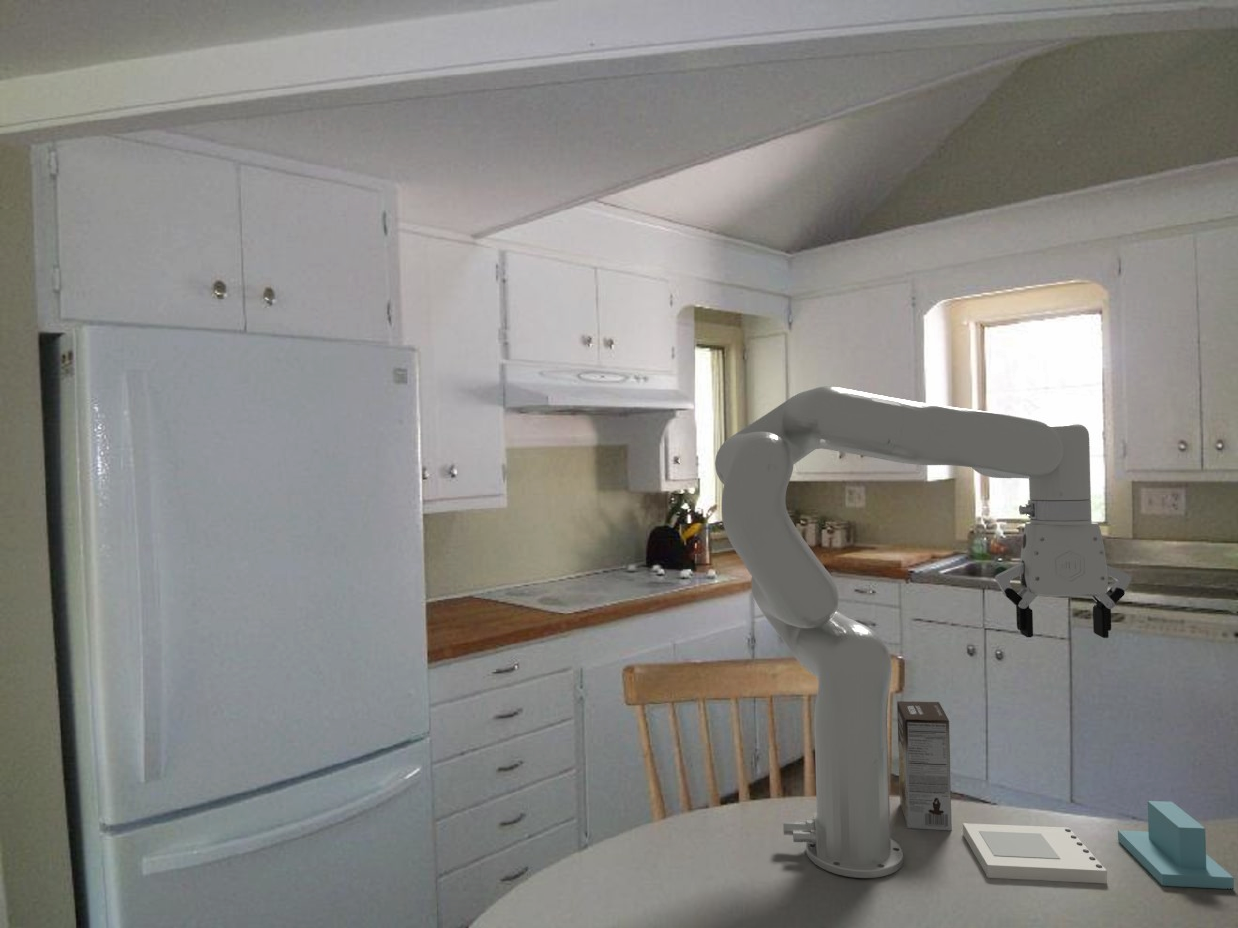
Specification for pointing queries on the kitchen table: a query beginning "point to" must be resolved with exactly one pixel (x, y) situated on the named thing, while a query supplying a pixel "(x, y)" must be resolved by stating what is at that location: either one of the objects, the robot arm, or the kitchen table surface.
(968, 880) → the kitchen table surface
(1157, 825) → the stub
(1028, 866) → the white notebook
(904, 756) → the coffee box
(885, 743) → the robot arm
